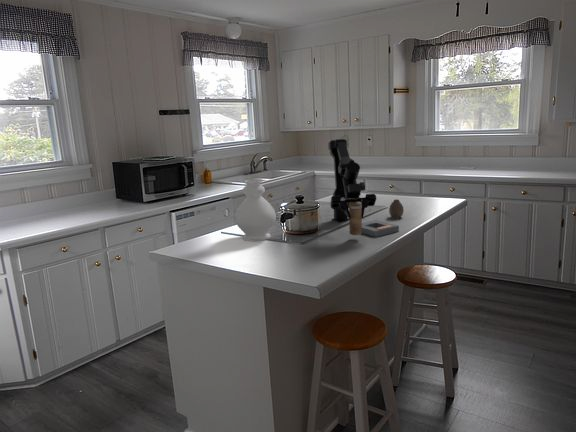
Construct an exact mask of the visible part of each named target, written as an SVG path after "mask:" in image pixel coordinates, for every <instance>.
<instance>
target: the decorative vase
mask: <svg viewBox="0 0 576 432" xmlns="http://www.w3.org/2000/svg"><path fill="white" fill-rule="evenodd" d="M262 183H263V180H262V179H246V180H244V184H245V186H244V187H243V188H242V193H243V194H244V195H245V196H246V197H245V198H244V199H243V200H242V201H241V203H240V204H239V205H238V207H237V208H236V211H235V214H234V221H235V224H236V226H237V227H238V228H239V229H240V230H241V231H242V233H244V234H243V235H242V236H241V239H242V240H244V241H248V242H260V241H266V240H269V239H270V238H271V237H272V236H271V234H270V233H269V231H270V230H271V228H272V227H273V226H274V225H275V222H276V220H277V219H276V218H277V215H276V211H275V209H274V207H273V206H272V204H271V203H270V202H269V201H267V199H266V198H264V197H263V196H262V195H263V194H264V193H265V191H266V189H265V187H264V186H263V185H262Z"/></svg>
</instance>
